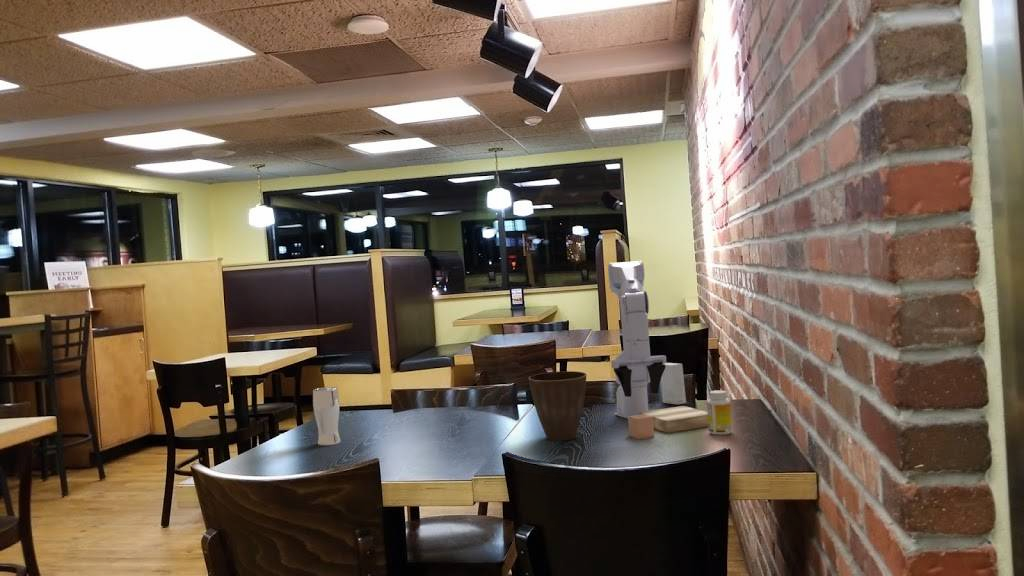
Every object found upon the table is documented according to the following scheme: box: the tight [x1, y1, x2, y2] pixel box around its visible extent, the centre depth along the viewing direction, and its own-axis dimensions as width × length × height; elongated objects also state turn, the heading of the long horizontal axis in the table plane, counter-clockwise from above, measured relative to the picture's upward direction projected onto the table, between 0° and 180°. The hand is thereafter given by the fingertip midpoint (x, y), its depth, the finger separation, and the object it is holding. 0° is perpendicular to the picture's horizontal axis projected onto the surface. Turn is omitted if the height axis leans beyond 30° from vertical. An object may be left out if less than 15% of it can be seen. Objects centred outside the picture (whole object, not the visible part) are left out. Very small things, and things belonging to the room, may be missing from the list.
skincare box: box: [660, 362, 687, 406], centre depth 218 cm, size 6×4×12 cm
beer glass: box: [312, 386, 341, 447], centre depth 196 cm, size 7×7×15 cm
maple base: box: [639, 405, 709, 434], centre depth 188 cm, size 14×14×3 cm
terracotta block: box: [627, 414, 655, 440], centre depth 178 cm, size 4×4×5 cm
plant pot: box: [527, 370, 587, 442], centre depth 183 cm, size 15×15×16 cm
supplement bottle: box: [706, 389, 733, 436], centre depth 175 cm, size 6×6×10 cm
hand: (641, 394), depth 177 cm, fingers open, 7 cm apart
